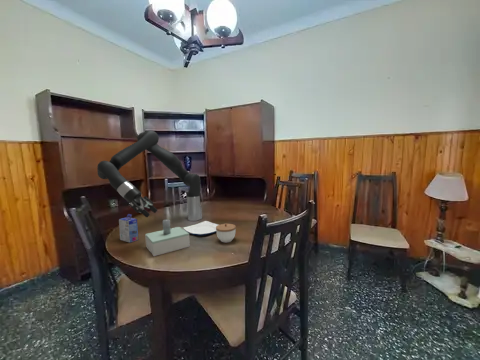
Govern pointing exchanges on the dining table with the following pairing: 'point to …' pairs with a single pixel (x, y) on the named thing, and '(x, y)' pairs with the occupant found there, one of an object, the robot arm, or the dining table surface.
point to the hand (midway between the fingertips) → (152, 213)
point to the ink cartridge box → (128, 229)
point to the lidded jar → (226, 232)
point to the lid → (166, 233)
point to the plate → (201, 228)
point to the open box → (167, 245)
